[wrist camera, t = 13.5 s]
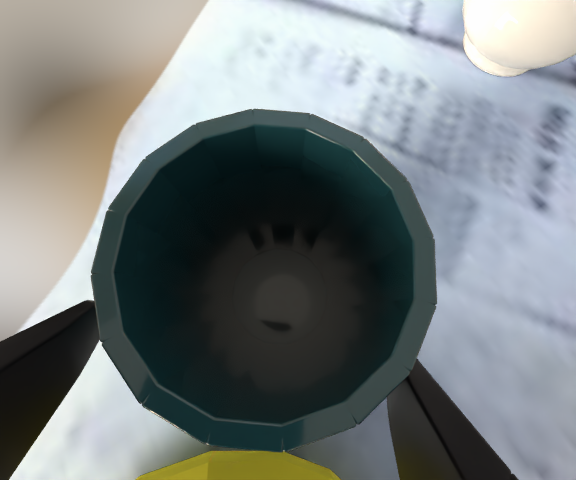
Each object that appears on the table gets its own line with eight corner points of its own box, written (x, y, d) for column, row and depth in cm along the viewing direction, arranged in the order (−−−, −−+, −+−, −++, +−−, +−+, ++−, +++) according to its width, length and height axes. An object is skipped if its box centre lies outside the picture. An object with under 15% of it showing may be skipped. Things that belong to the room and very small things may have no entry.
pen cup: (352, 301, 19) (508, 277, 6) (272, 373, 18) (233, 553, 4) (286, 226, 20) (287, 59, 7) (207, 289, 19) (28, 234, 6)
